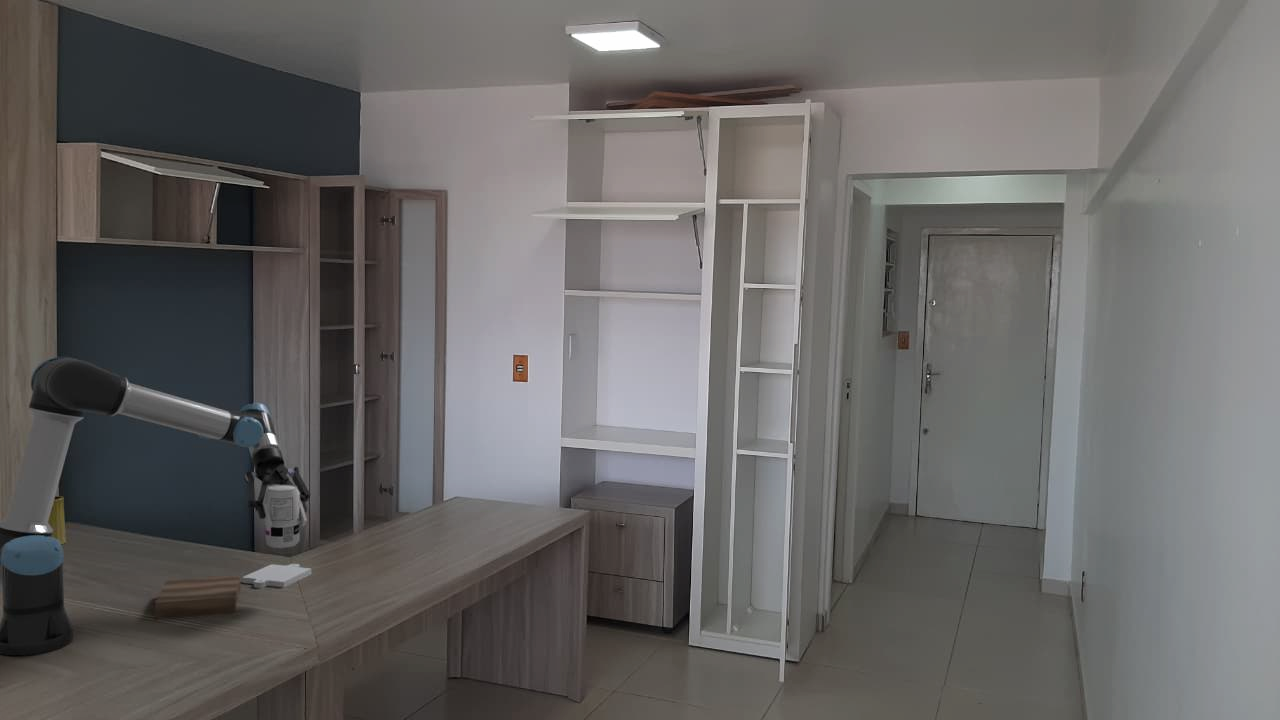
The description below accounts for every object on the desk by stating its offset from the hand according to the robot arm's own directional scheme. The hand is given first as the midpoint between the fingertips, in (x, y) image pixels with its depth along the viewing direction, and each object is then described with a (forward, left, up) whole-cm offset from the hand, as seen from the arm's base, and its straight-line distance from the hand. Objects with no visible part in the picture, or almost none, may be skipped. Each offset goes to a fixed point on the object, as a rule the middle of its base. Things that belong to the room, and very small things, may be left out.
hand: (287, 525), depth 251 cm
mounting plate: (+21, +3, -21) cm, 30 cm away
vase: (+73, +69, -20) cm, 103 cm away
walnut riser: (+3, +21, -20) cm, 29 cm away
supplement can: (+3, +1, -6) cm, 7 cm away
